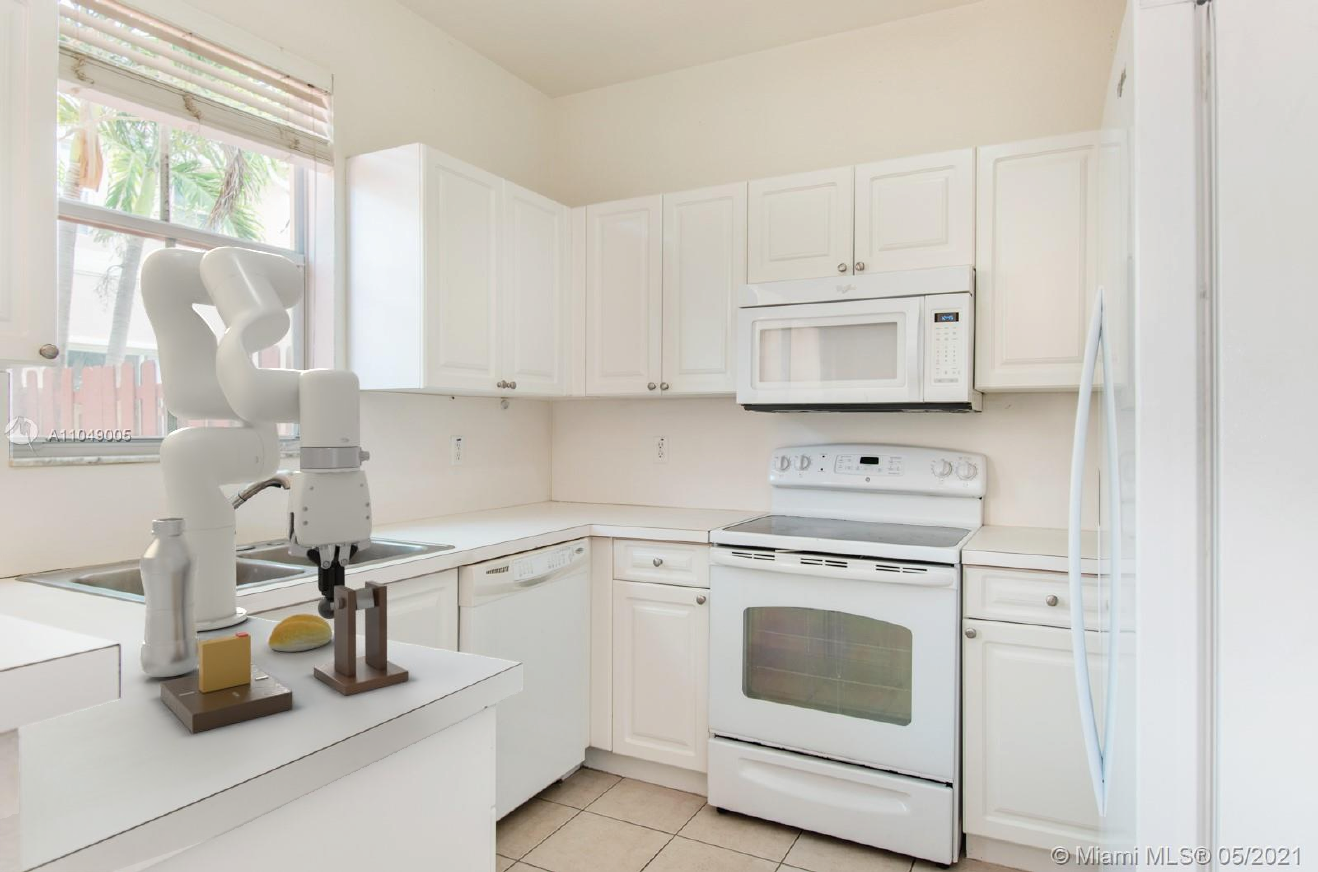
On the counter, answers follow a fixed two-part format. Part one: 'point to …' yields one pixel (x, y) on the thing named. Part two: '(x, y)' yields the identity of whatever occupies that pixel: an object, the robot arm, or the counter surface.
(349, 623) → the handle bracket
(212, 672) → the lock knob
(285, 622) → the bread roll
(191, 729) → the plate
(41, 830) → the counter surface
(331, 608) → the door lever
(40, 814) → the counter surface
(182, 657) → the plastic bottle
